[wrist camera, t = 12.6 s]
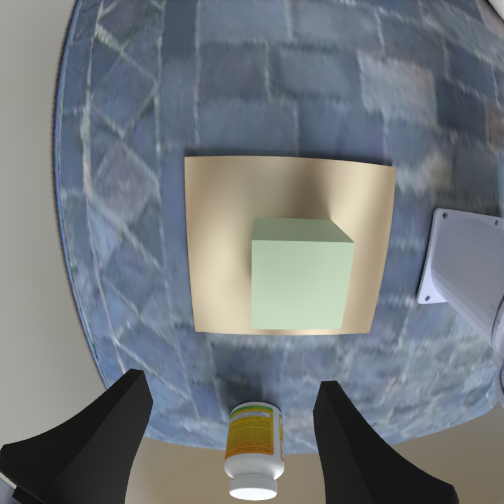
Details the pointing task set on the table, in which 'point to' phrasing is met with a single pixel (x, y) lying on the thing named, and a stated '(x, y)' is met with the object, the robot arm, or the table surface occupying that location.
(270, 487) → the supplement bottle
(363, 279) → the wooden board
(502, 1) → the flower in vase
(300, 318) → the sage cube
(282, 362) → the table surface
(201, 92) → the table surface
